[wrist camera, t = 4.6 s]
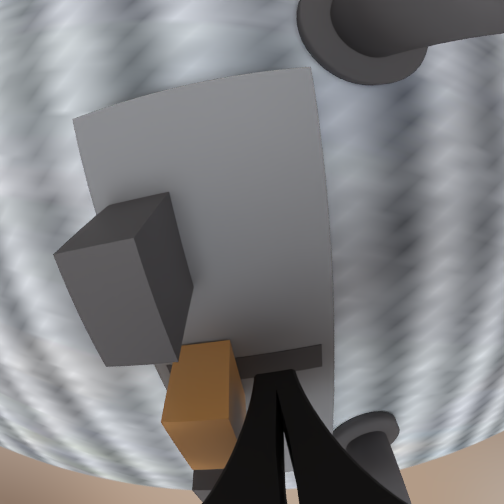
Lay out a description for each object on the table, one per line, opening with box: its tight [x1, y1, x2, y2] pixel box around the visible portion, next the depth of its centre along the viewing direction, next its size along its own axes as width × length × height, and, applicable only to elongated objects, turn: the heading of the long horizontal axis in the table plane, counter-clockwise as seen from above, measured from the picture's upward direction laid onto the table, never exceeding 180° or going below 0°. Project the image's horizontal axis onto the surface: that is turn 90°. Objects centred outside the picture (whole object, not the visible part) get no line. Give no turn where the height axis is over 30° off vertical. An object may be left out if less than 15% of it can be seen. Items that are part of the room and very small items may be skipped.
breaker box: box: [53, 67, 334, 502], centre depth 12 cm, size 7×20×6 cm, turn 9°
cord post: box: [332, 411, 411, 504], centre depth 16 cm, size 5×5×7 cm
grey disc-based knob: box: [297, 0, 504, 85], centre depth 6 cm, size 5×5×7 cm
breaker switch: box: [161, 340, 246, 470], centre depth 10 cm, size 2×3×4 cm, turn 9°
